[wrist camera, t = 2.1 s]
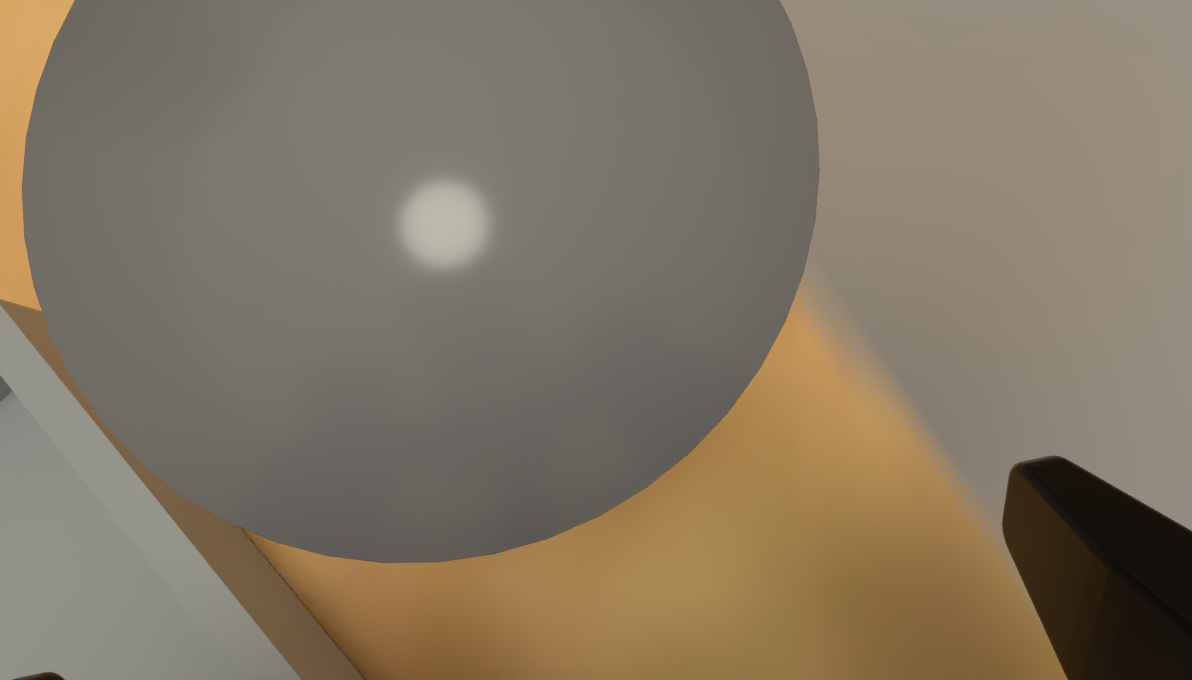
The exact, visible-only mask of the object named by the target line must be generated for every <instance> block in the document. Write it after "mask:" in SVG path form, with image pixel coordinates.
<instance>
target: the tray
mask: <svg viewBox="0 0 1192 680" xmlns="http://www.w3.org/2000/svg"><path fill="white" fill-rule="evenodd" d="M43 672H53V673H57V674H59V675H60V676H62V677H63V678H64V679H65V680H364V679H363V677H362V676H361V675H360V674H359V672H358V671H357V670H356V669H355V668H354V666H353V665H352V664H351V663H350V661H349V660H348V659H347V658H346V656H345V655H344V654H343V653H342V652H341V650H340V649H339V648H338V647H337V645H336V644H335V643H334V642H333V640H332V639H331V638H330V637H329V636H328V634H327V633H326V632H325V631H324V629H323V628H322V627H321V626H320V625H319V623H318V622H317V621H316V620H315V618H314V617H313V616H312V615H311V613H310V612H309V611H308V610H307V609H306V607H305V606H304V605H303V604H302V602H301V601H300V600H299V599H298V598H297V596H296V595H295V594H294V593H293V591H292V590H291V589H290V588H289V586H288V585H287V584H286V583H285V582H284V580H283V579H282V578H281V577H280V575H279V574H278V573H277V572H276V571H275V569H274V568H273V567H272V566H271V564H270V563H269V562H268V561H267V559H266V558H265V557H264V556H263V555H262V553H261V552H260V551H259V550H258V548H257V547H256V546H255V545H254V544H253V542H252V541H251V540H250V539H249V537H248V536H247V535H246V534H245V532H244V531H243V530H242V529H241V528H240V527H238V526H236V525H233V524H231V523H229V522H226V521H224V520H223V519H221V518H219V517H218V516H216V515H214V514H212V513H211V512H209V511H207V510H206V509H204V508H202V507H201V506H199V505H197V504H196V503H194V502H192V501H191V500H189V499H187V498H186V497H184V496H182V495H181V494H179V493H178V492H177V491H175V490H174V489H173V488H172V487H170V486H169V485H168V484H167V483H165V482H164V481H163V480H162V479H160V478H159V477H158V476H157V475H155V474H154V473H153V472H152V471H151V470H149V469H148V468H147V467H146V466H144V465H143V464H142V463H141V462H139V461H138V460H137V459H136V458H135V457H134V456H133V455H132V453H131V452H130V451H129V450H128V449H127V448H126V447H125V446H124V445H123V444H122V443H121V442H120V441H119V439H118V438H117V437H116V436H115V435H114V434H113V433H112V432H111V431H110V430H109V429H108V428H107V427H106V426H105V424H104V423H103V422H102V421H101V419H100V418H99V417H98V415H97V414H96V412H95V411H94V409H93V408H92V407H91V405H90V404H89V402H88V401H87V399H86V398H85V396H84V395H83V394H82V392H81V391H80V389H79V388H78V386H77V385H76V384H75V382H74V381H73V379H72V377H71V375H70V373H69V371H68V369H67V367H66V365H65V363H64V361H63V359H62V357H61V355H60V353H59V351H58V349H57V347H56V345H55V343H54V341H53V339H52V337H51V335H50V333H49V330H48V327H47V324H46V321H45V318H44V315H43V312H42V311H38V310H35V309H32V308H28V307H25V306H21V305H18V304H15V303H11V302H8V301H4V300H1V299H0V680H13V679H16V678H20V677H25V676H29V675H34V674H39V673H43Z"/></svg>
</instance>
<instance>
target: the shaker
mask: <svg viewBox="0 0 1192 680" xmlns="http://www.w3.org/2000/svg"><path fill="white" fill-rule="evenodd" d="M819 171H820V170H819V151H818V131H817V118H816V113H815V108H814V102H813V97H812V92H811V87H810V81H809V76H808V71H807V68H806V65H805V62H804V59H803V56H802V53H801V50H800V47H799V44H798V41H797V38H796V35H795V33H794V30H793V27H792V24H791V22H790V20H789V18H788V16H787V14H786V12H785V10H784V8H783V6H782V4H781V2H780V0H75V1H74V3H73V5H72V7H71V9H70V11H69V13H68V15H67V17H66V19H65V21H64V23H63V25H62V26H61V28H60V30H59V32H58V34H57V36H56V38H55V40H54V42H53V45H52V48H51V51H50V53H49V56H48V59H47V62H46V64H45V67H44V70H43V73H42V76H41V78H40V81H39V84H38V87H37V90H36V94H35V99H34V103H33V108H32V113H31V117H30V122H29V126H28V131H27V135H26V144H25V156H24V167H23V179H22V200H23V220H24V238H25V243H26V248H27V253H28V259H29V264H30V269H31V275H32V280H33V285H34V289H35V292H36V295H37V297H38V300H39V303H40V306H41V309H42V312H43V315H44V318H45V321H46V324H47V327H48V330H49V333H50V335H51V337H52V339H53V341H54V343H55V345H56V347H57V349H58V351H59V353H60V355H61V357H62V359H63V361H64V363H65V365H66V367H67V369H68V371H69V373H70V375H71V377H72V379H73V381H74V382H75V384H76V385H77V386H78V388H79V389H80V391H81V392H82V394H83V395H84V396H85V398H86V399H87V401H88V402H89V404H90V405H91V407H92V408H93V409H94V411H95V412H96V414H97V415H98V417H99V418H100V419H101V421H102V422H103V423H104V424H105V426H106V427H107V428H108V429H109V430H110V431H111V432H112V433H113V434H114V435H115V436H116V437H117V438H118V439H119V441H120V442H121V443H122V444H123V445H124V446H125V447H126V448H127V449H128V450H129V451H130V452H131V453H132V455H133V456H134V457H135V458H136V459H137V460H138V461H139V462H141V463H142V464H143V465H144V466H146V467H147V468H148V469H149V470H151V471H152V472H153V473H154V474H155V475H157V476H158V477H159V478H160V479H162V480H163V481H164V482H165V483H167V484H168V485H169V486H170V487H172V488H173V489H174V490H175V491H177V492H178V493H179V494H181V495H182V496H184V497H186V498H187V499H189V500H191V501H192V502H194V503H196V504H197V505H199V506H201V507H202V508H204V509H206V510H207V511H209V512H211V513H212V514H214V515H216V516H218V517H219V518H221V519H223V520H224V521H226V522H229V523H231V524H233V525H236V526H238V527H241V528H243V529H245V530H248V531H250V532H252V533H255V534H257V535H260V536H262V537H264V538H267V539H269V540H271V541H274V542H277V543H281V544H284V545H288V546H292V547H296V548H299V549H303V550H307V551H311V552H314V553H318V554H322V555H326V556H332V557H340V558H347V559H356V560H364V561H372V562H380V563H414V562H443V561H450V560H457V559H464V558H470V557H477V556H484V555H491V554H496V553H499V552H503V551H506V550H510V549H513V548H517V547H520V546H524V545H527V544H531V543H534V542H538V541H541V540H545V539H548V538H550V537H552V536H555V535H557V534H559V533H562V532H564V531H566V530H568V529H571V528H573V527H575V526H578V525H580V524H582V523H585V522H587V521H589V520H591V519H594V518H596V517H598V516H600V515H602V514H603V513H605V512H607V511H608V510H610V509H612V508H613V507H615V506H617V505H618V504H620V503H622V502H623V501H625V500H627V499H628V498H630V497H632V496H633V495H635V494H636V493H638V492H640V491H641V490H643V489H645V488H646V487H648V486H649V485H650V484H651V483H653V482H654V481H655V480H656V479H658V478H659V477H660V476H661V475H663V474H664V473H665V472H666V471H668V470H669V469H670V468H671V467H673V466H674V465H675V464H676V463H678V462H679V461H680V460H681V459H683V458H684V457H685V456H686V455H688V454H689V453H690V452H691V451H692V450H693V449H694V448H695V447H696V446H697V445H698V444H699V443H700V442H701V440H702V439H703V438H704V437H705V436H706V435H707V434H708V433H709V432H710V431H711V430H712V429H713V428H714V427H715V426H716V425H717V424H718V423H719V422H720V421H721V420H722V418H723V417H724V416H725V415H726V414H727V413H728V412H729V411H730V409H731V408H732V406H733V405H734V404H735V402H736V401H737V400H738V398H739V397H740V395H741V394H742V393H743V391H744V390H745V389H746V387H747V386H748V384H749V383H750V382H751V380H752V379H753V378H754V376H755V375H756V373H757V372H758V371H759V369H760V368H761V366H762V364H763V362H764V360H765V358H766V356H767V355H768V353H769V351H770V349H771V347H772V345H773V343H774V342H775V340H776V338H777V336H778V334H779V332H780V330H781V329H782V327H783V325H784V323H785V321H786V318H787V316H788V313H789V310H790V307H791V305H792V302H793V299H794V297H795V294H796V291H797V289H798V286H799V283H800V281H801V278H802V275H803V273H804V269H805V264H806V260H807V255H808V251H809V247H810V242H811V238H812V233H813V229H814V224H815V218H816V206H817V194H818V182H819Z"/></svg>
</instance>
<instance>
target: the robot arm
mask: <svg viewBox="0 0 1192 680" xmlns="http://www.w3.org/2000/svg"><path fill="white" fill-rule="evenodd" d="M1002 527H1003V534H1004V538H1005V541H1006V545H1007V547H1008V549H1009V552H1010V554H1011V556H1012V558H1013V560H1014V563H1015V565H1016V567H1017V569H1018V571H1019V574H1020V576H1021V578H1022V580H1023V582H1024V585H1025V587H1026V589H1027V591H1028V593H1029V596H1030V598H1031V600H1032V602H1033V605H1034V607H1035V609H1036V611H1037V613H1038V616H1039V618H1040V620H1041V622H1042V624H1043V627H1044V629H1045V631H1046V633H1047V635H1048V638H1049V640H1050V642H1051V644H1052V646H1053V649H1054V651H1055V653H1056V655H1057V657H1058V660H1059V662H1060V664H1061V666H1062V668H1063V671H1064V673H1065V675H1066V677H1067V679H1068V680H1192V531H1191V530H1189V529H1187V528H1186V527H1184V526H1182V525H1180V524H1179V523H1177V522H1175V521H1174V520H1172V519H1170V518H1168V517H1166V516H1165V515H1163V514H1161V513H1160V512H1158V511H1156V510H1154V509H1153V508H1151V507H1149V506H1147V505H1145V504H1144V503H1142V502H1140V501H1139V500H1137V499H1135V498H1133V497H1132V496H1130V495H1128V494H1127V493H1125V492H1123V491H1121V490H1120V489H1118V488H1116V487H1114V486H1112V485H1111V484H1109V483H1107V482H1106V481H1104V480H1102V479H1100V478H1099V477H1097V476H1095V475H1093V474H1092V473H1090V472H1088V471H1086V470H1085V469H1083V468H1081V467H1080V466H1078V465H1076V464H1074V463H1073V462H1071V461H1069V460H1067V459H1065V458H1062V457H1059V456H1047V457H1042V458H1037V459H1032V460H1028V461H1024V462H1019V463H1017V464H1015V465H1014V466H1013V468H1012V469H1011V471H1010V474H1009V479H1008V486H1007V493H1006V499H1005V506H1004V513H1003V519H1002ZM13 680H65V679H64V678H63V677H62V676H60V675H59V674H57V673H53V672H43V673H39V674H34V675H29V676H25V677H20V678H16V679H13Z"/></svg>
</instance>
